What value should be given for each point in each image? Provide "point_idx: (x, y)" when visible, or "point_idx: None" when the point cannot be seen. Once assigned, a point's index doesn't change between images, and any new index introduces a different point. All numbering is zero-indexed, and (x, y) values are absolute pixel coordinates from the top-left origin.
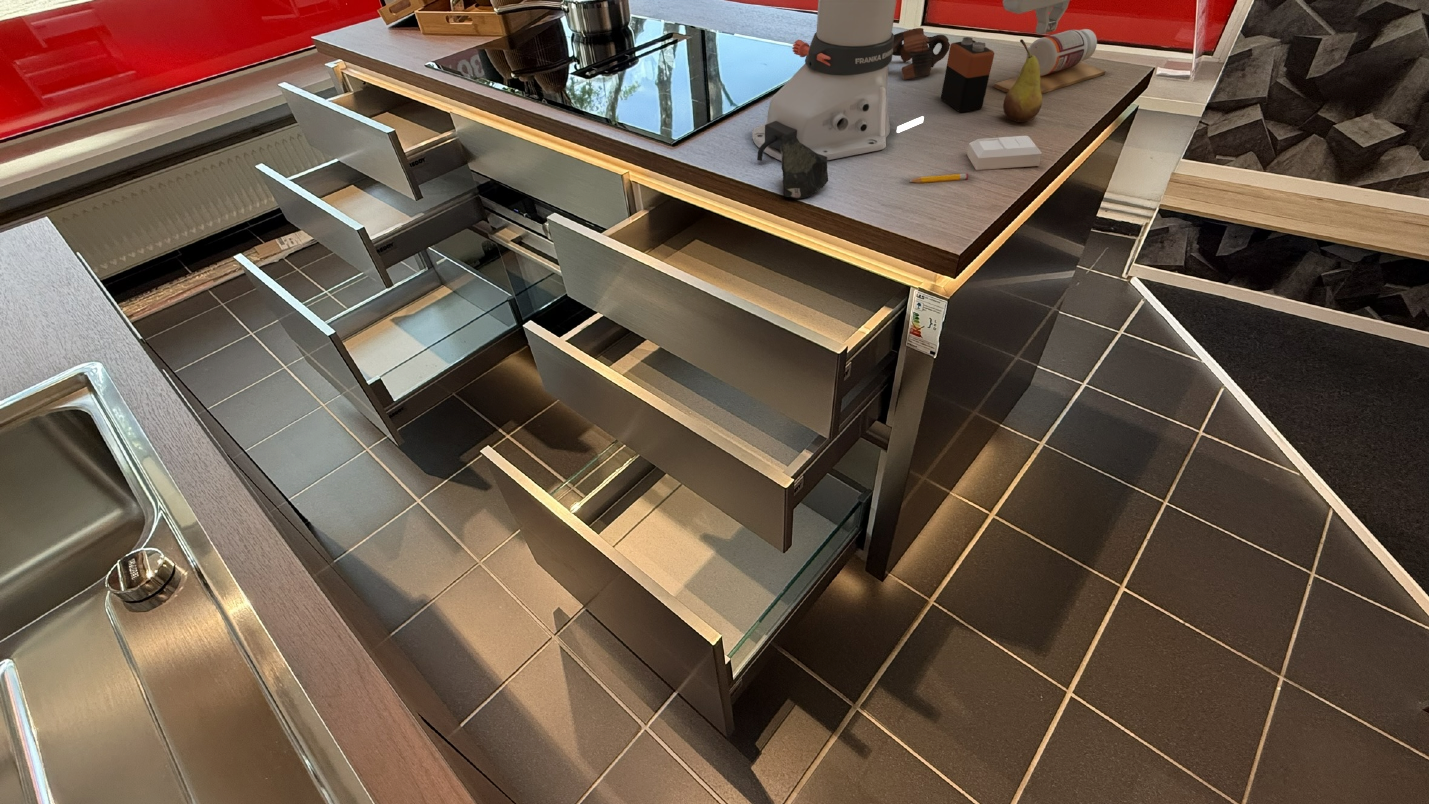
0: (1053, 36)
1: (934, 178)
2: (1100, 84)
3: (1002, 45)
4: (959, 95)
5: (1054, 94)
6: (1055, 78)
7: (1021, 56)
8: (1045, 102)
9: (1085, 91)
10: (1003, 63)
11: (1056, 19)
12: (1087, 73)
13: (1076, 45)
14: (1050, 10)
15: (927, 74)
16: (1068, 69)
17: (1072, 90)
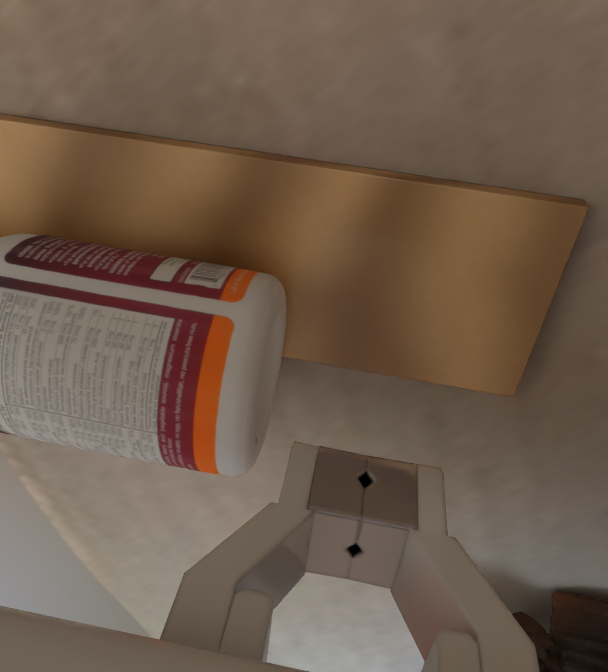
0: (163, 432)
1: None
2: (56, 25)
3: (95, 545)
4: None
5: (389, 124)
6: (233, 234)
7: (116, 464)
8: (545, 84)
9: (212, 18)
10: (232, 476)
11: (307, 520)
12: (39, 157)
13: (52, 299)
14: (463, 649)
15: (584, 598)
16: None
17: (259, 86)
